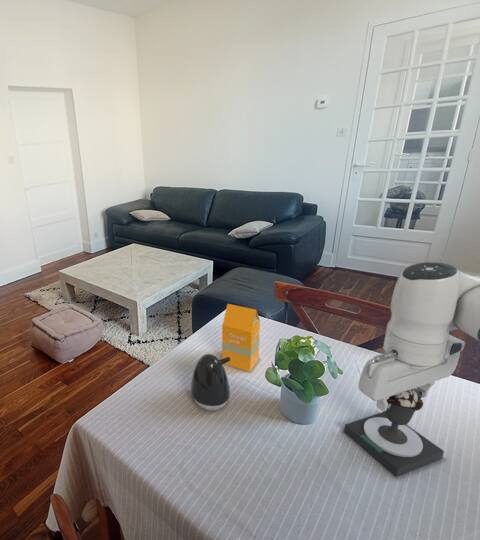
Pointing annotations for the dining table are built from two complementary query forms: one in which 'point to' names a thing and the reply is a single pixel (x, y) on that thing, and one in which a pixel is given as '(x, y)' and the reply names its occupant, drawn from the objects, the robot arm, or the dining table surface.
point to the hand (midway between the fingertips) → (401, 402)
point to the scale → (393, 445)
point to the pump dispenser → (210, 383)
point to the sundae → (400, 415)
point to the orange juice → (241, 336)
